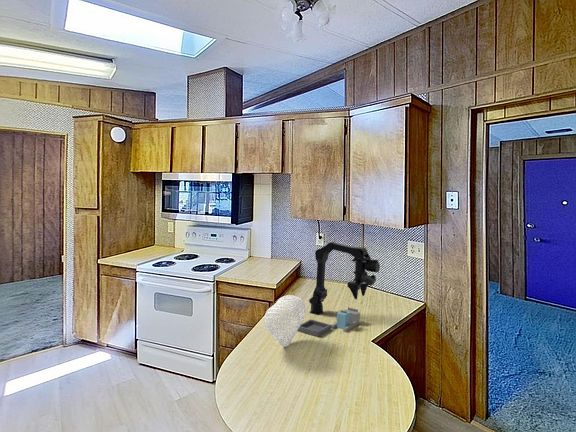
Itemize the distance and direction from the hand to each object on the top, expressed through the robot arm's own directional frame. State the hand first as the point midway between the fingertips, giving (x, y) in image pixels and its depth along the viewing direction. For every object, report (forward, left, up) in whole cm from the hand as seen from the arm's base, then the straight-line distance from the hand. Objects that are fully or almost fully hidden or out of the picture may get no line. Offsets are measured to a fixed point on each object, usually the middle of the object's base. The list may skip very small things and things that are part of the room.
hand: (359, 297), depth 193 cm
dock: (-4, -8, -15) cm, 17 cm away
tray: (-14, -25, -15) cm, 32 cm away
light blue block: (-4, -11, -15) cm, 19 cm away
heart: (-14, -50, -15) cm, 54 cm away
